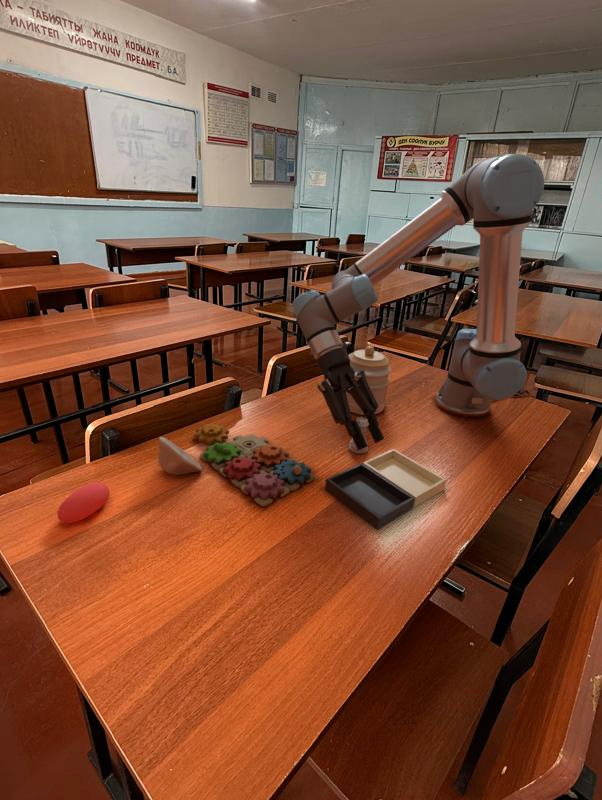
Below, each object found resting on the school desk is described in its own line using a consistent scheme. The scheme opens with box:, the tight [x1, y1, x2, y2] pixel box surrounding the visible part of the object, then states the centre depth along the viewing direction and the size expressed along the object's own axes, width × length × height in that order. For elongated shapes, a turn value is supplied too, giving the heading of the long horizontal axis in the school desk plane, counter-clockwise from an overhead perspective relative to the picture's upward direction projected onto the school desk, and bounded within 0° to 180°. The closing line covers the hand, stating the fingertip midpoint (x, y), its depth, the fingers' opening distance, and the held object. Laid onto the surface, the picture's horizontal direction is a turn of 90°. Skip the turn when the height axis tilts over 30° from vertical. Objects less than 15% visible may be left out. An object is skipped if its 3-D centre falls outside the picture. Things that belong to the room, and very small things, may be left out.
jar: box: [346, 345, 392, 416], centre depth 120 cm, size 13×13×18 cm
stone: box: [158, 436, 203, 476], centre depth 88 cm, size 10×7×10 cm
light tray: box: [362, 448, 447, 509], centre depth 92 cm, size 10×14×2 cm
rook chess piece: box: [348, 416, 369, 455], centre depth 101 cm, size 4×4×8 cm
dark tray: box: [324, 462, 415, 530], centre depth 85 cm, size 10×14×2 cm
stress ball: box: [56, 481, 111, 524], centre depth 76 cm, size 5×9×6 cm, turn 145°
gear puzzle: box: [193, 423, 316, 508], centre depth 94 cm, size 31×16×4 cm, turn 45°
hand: (371, 444), depth 99 cm, fingers open, 5 cm apart
